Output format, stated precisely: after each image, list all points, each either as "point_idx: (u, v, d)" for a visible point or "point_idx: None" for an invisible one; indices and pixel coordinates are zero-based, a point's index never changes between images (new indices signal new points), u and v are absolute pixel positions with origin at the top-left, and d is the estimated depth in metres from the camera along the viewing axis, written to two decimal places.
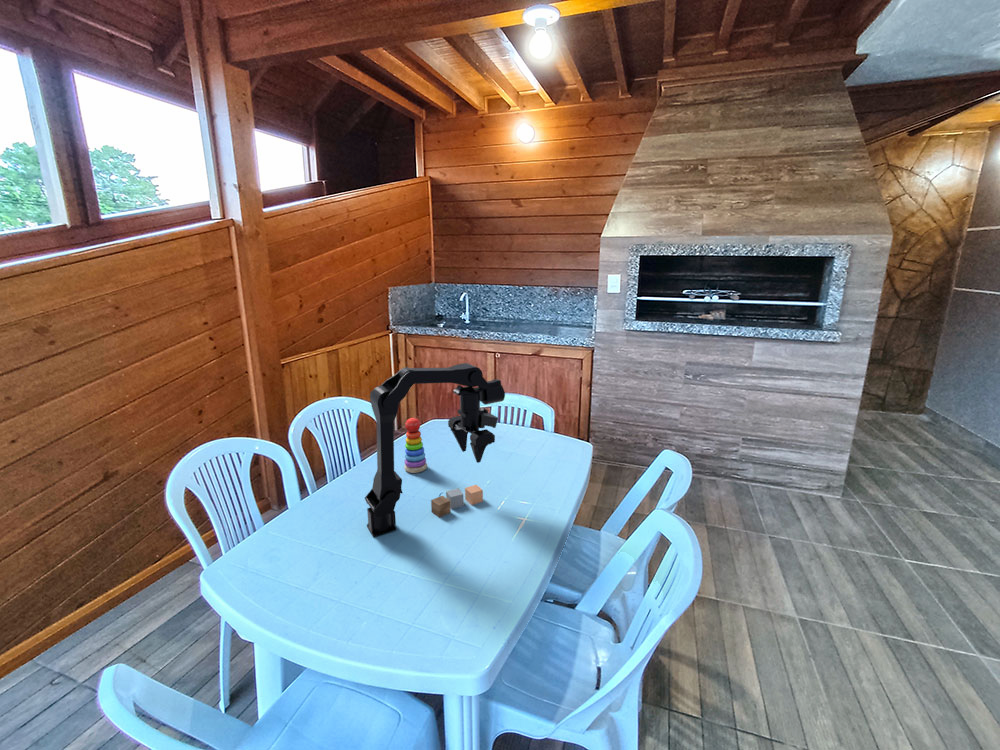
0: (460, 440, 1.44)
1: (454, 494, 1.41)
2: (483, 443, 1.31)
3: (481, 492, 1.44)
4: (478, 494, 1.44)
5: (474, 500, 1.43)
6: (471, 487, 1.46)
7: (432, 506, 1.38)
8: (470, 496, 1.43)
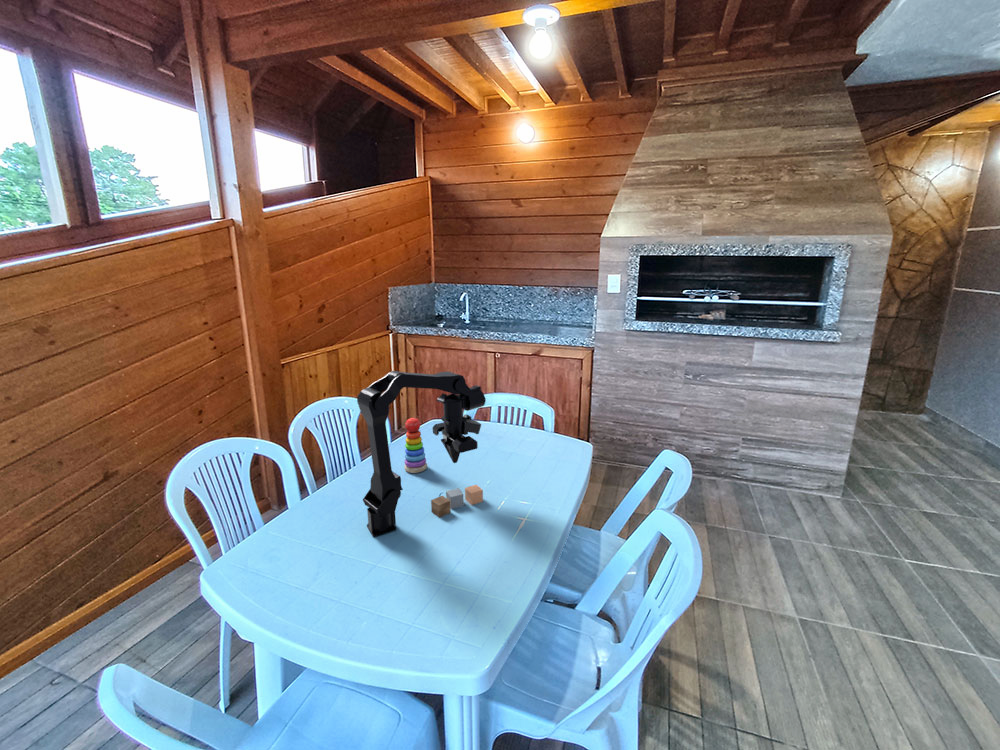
0: None
1: (454, 494, 1.41)
2: (466, 450, 1.35)
3: (481, 493, 1.44)
4: (478, 494, 1.44)
5: (474, 500, 1.43)
6: (471, 487, 1.46)
7: (432, 506, 1.38)
8: (470, 497, 1.43)
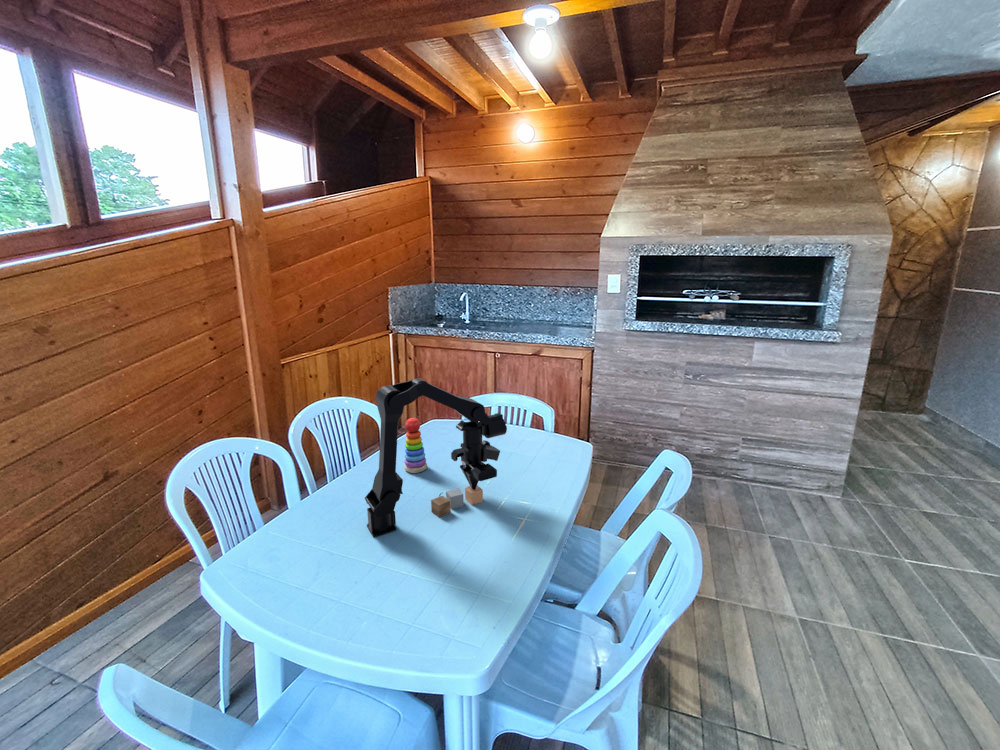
0: None
1: (454, 494, 1.41)
2: (485, 478, 1.34)
3: (481, 492, 1.44)
4: (478, 494, 1.44)
5: (474, 499, 1.43)
6: None
7: (432, 506, 1.38)
8: (470, 496, 1.43)
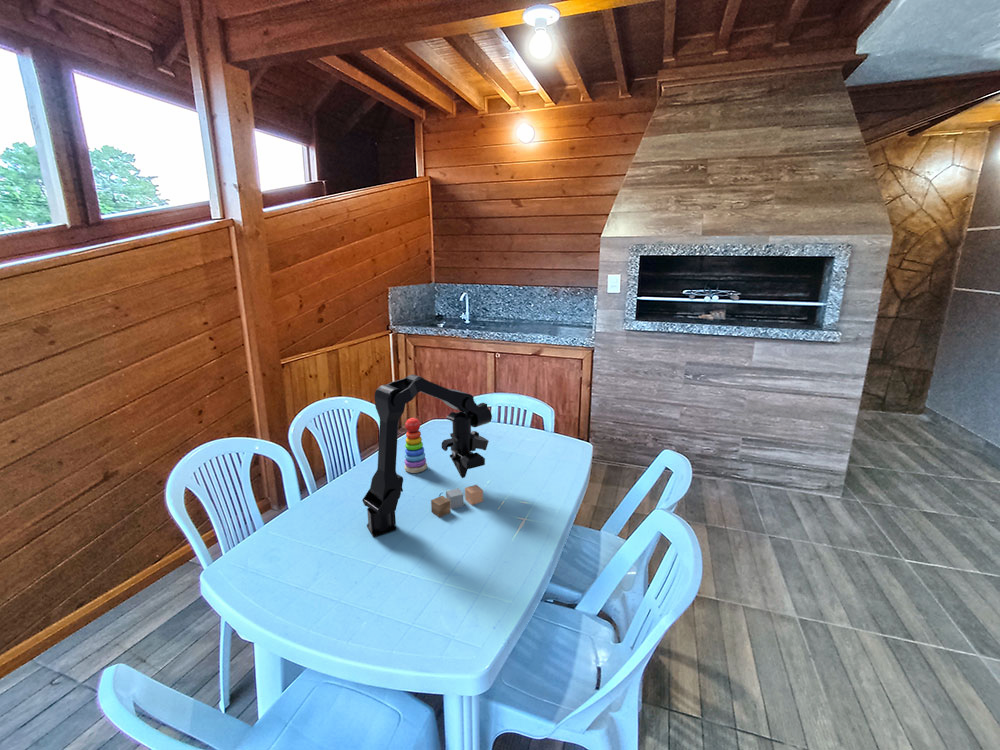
0: None
1: (454, 494, 1.41)
2: (474, 466, 1.40)
3: (481, 492, 1.44)
4: (478, 494, 1.44)
5: (474, 500, 1.43)
6: (471, 487, 1.46)
7: (432, 506, 1.38)
8: (470, 496, 1.43)
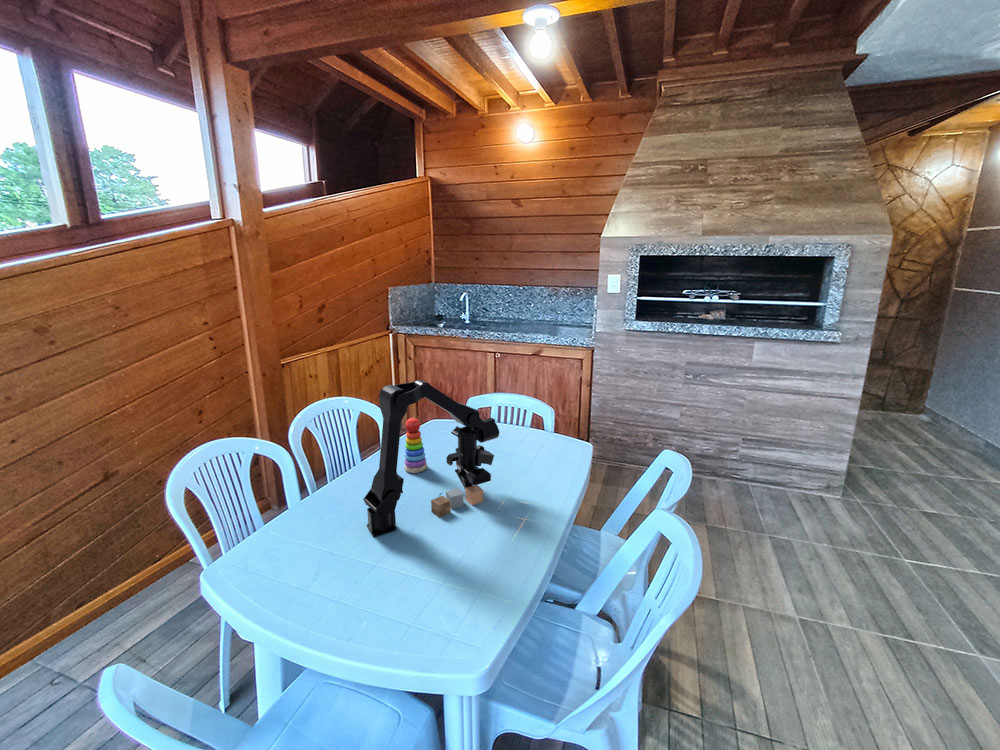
0: None
1: (454, 494, 1.41)
2: (480, 482, 1.38)
3: (481, 492, 1.44)
4: (479, 494, 1.44)
5: (475, 500, 1.43)
6: (471, 487, 1.45)
7: (432, 506, 1.38)
8: (471, 496, 1.43)
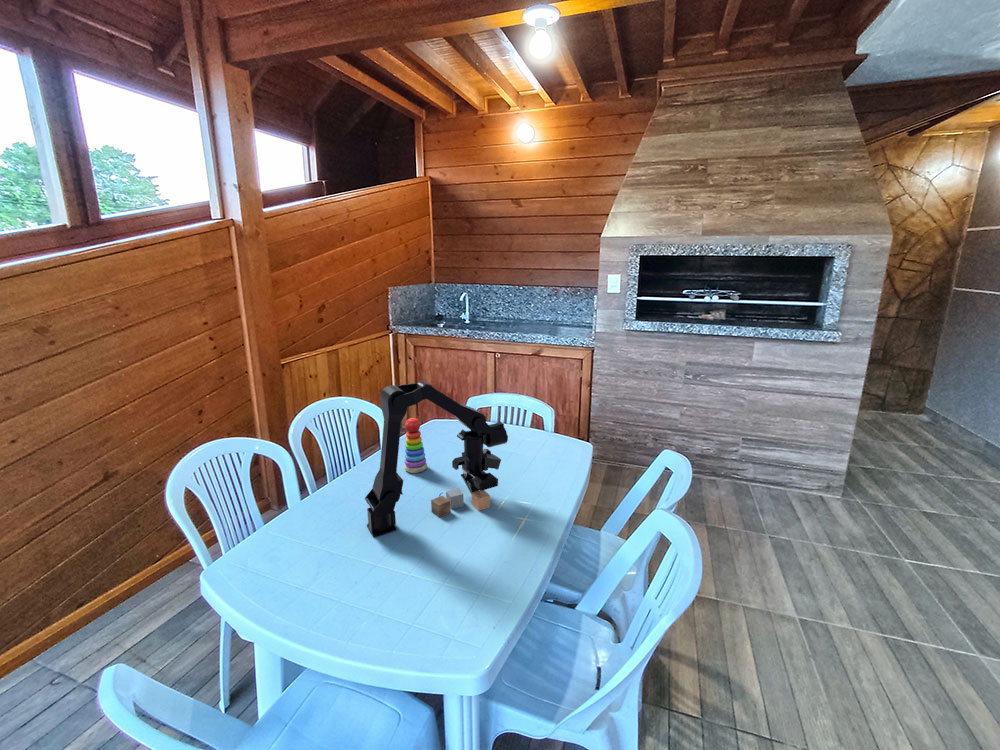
0: None
1: (454, 494, 1.41)
2: (487, 487, 1.35)
3: (488, 498, 1.41)
4: (486, 500, 1.40)
5: (481, 505, 1.40)
6: (478, 492, 1.42)
7: (432, 506, 1.38)
8: (477, 502, 1.39)
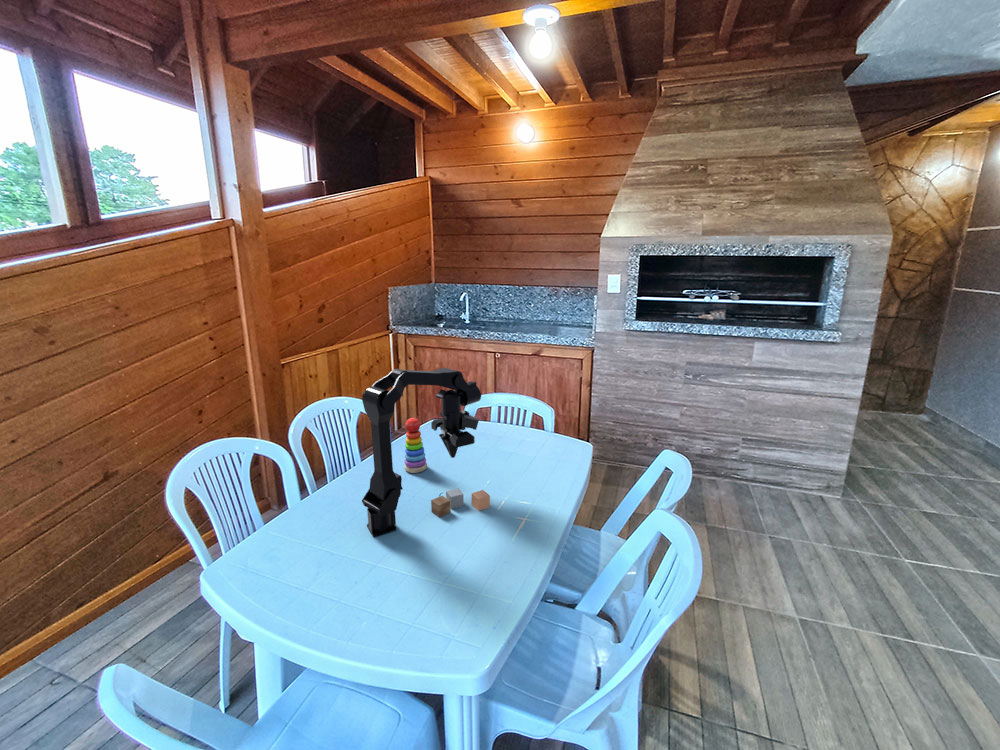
0: None
1: (454, 494, 1.41)
2: (463, 444, 1.38)
3: (488, 498, 1.41)
4: (485, 500, 1.40)
5: (481, 505, 1.40)
6: (478, 492, 1.42)
7: (432, 506, 1.38)
8: (477, 502, 1.39)
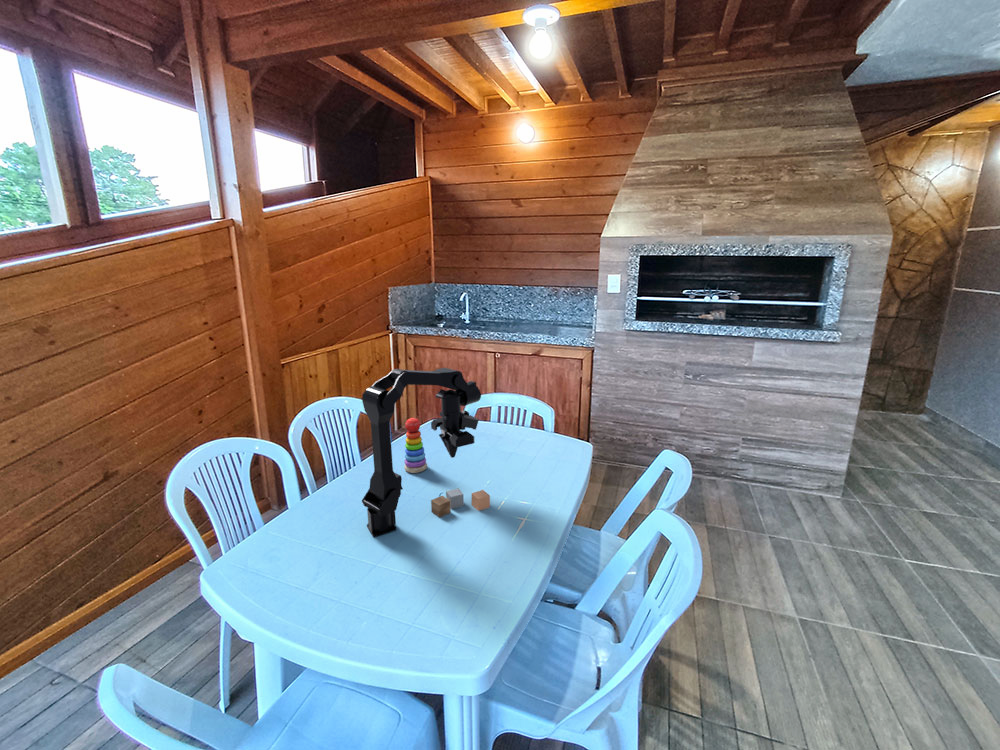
0: None
1: (454, 494, 1.41)
2: (463, 444, 1.38)
3: (488, 498, 1.41)
4: (485, 500, 1.40)
5: (481, 505, 1.40)
6: (478, 492, 1.42)
7: (432, 506, 1.38)
8: (477, 502, 1.39)
